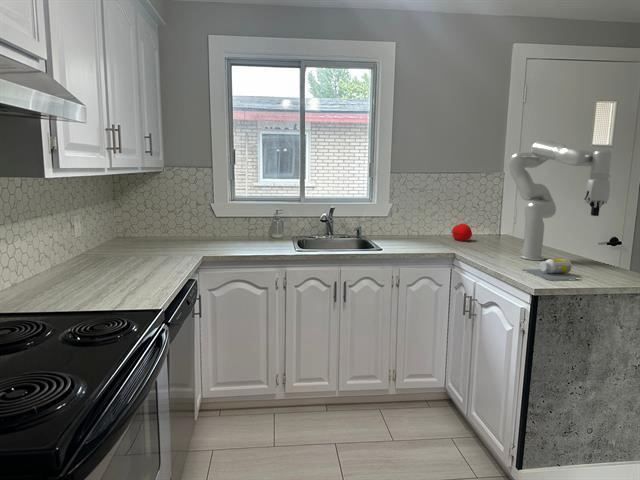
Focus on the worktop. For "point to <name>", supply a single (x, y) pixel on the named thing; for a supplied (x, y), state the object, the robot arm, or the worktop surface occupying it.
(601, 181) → the robot arm
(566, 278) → the mat
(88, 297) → the worktop surface
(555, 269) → the supplement bottle
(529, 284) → the worktop surface
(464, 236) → the tomato
